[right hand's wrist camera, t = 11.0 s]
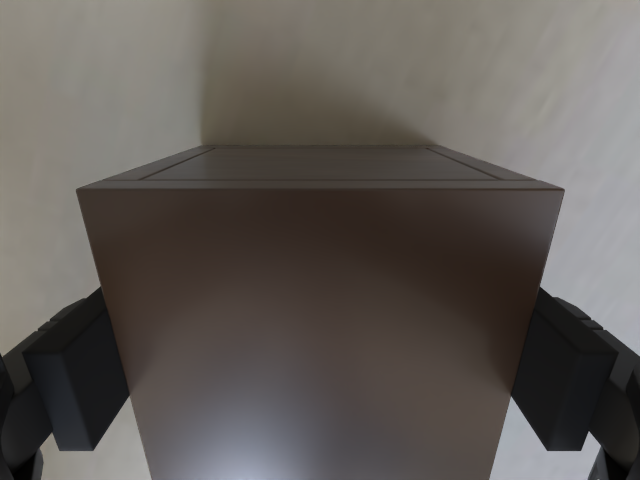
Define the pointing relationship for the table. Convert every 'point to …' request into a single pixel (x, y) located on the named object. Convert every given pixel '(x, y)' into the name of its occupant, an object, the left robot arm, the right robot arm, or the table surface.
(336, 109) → the table surface
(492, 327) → the cabinet
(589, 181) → the table surface
